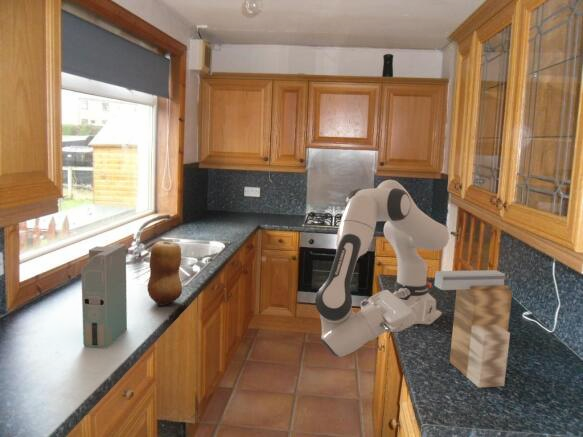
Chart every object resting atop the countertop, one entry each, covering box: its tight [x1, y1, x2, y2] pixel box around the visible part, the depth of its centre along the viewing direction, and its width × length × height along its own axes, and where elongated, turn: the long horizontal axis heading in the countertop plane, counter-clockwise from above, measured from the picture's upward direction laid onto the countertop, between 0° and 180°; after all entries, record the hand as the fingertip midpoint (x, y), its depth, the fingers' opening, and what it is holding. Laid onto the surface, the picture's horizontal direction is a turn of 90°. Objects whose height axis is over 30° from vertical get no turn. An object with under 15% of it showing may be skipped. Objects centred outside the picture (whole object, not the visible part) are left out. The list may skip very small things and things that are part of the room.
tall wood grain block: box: [449, 285, 513, 389], centre depth 152 cm, size 12×16×27 cm
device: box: [80, 243, 128, 349], centre depth 166 cm, size 16×8×30 cm, turn 176°
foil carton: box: [433, 269, 506, 291], centre depth 151 cm, size 20×4×4 cm, turn 102°
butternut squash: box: [147, 240, 183, 306], centre depth 202 cm, size 14×13×25 cm
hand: (415, 295), depth 149 cm, fingers open, 8 cm apart
